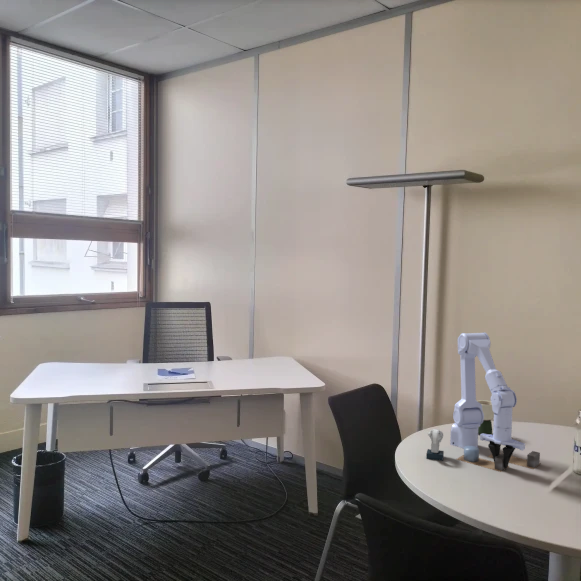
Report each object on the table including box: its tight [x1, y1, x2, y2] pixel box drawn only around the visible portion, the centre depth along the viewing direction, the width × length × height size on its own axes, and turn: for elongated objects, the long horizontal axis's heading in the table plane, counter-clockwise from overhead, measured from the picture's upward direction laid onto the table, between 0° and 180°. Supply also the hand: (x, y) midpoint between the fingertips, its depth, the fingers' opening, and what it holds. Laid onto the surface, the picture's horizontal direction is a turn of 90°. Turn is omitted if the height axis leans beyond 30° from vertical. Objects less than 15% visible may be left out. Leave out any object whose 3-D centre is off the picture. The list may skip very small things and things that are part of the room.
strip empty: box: [487, 450, 542, 470], centre depth 193 cm, size 16×7×5 cm, turn 47°
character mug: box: [472, 399, 494, 435], centre depth 224 cm, size 11×7×13 cm, turn 79°
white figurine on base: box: [425, 428, 445, 462], centre depth 195 cm, size 6×8×11 cm
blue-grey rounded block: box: [463, 446, 480, 462], centre depth 193 cm, size 5×5×4 cm
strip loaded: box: [455, 452, 510, 473], centre depth 191 cm, size 16×7×5 cm, turn 47°
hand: (501, 465), depth 186 cm, fingers closed on strip loaded, 2 cm apart
